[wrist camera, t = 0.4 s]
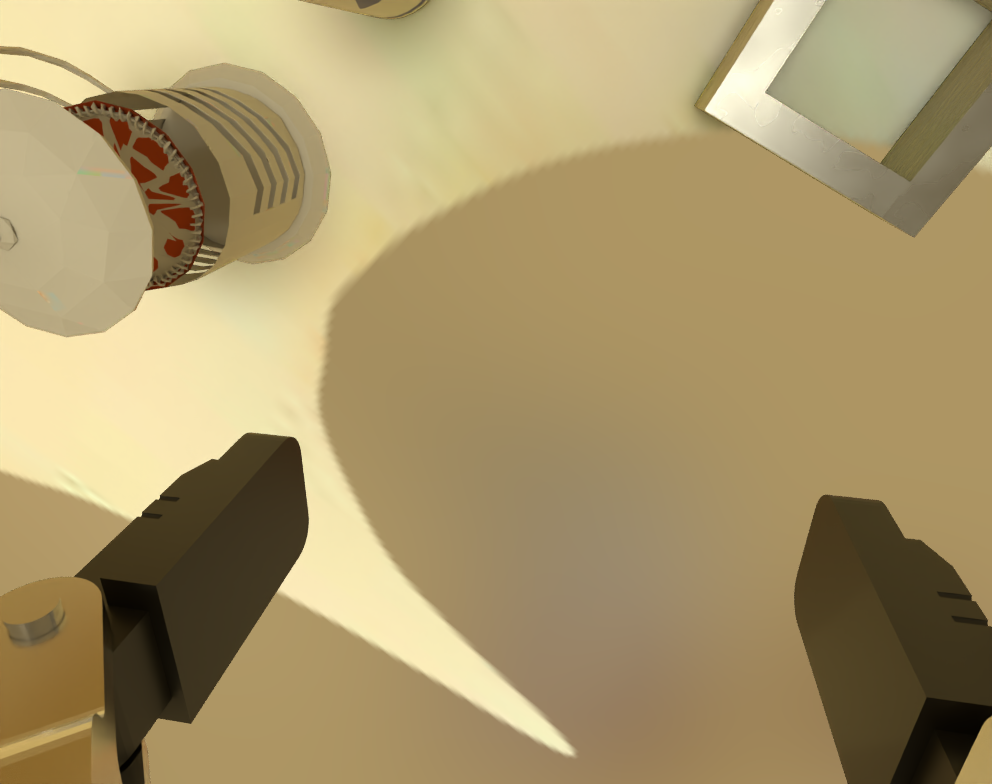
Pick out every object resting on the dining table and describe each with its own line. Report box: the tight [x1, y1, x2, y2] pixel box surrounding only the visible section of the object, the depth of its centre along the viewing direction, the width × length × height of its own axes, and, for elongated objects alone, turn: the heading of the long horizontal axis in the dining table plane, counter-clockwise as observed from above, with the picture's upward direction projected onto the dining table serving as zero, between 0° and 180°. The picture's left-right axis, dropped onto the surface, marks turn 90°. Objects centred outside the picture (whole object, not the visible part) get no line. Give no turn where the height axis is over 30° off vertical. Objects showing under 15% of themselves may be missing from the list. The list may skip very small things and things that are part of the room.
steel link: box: [694, 0, 992, 237], centre depth 27 cm, size 10×10×4 cm
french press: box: [0, 46, 331, 337], centre depth 24 cm, size 10×12×25 cm
